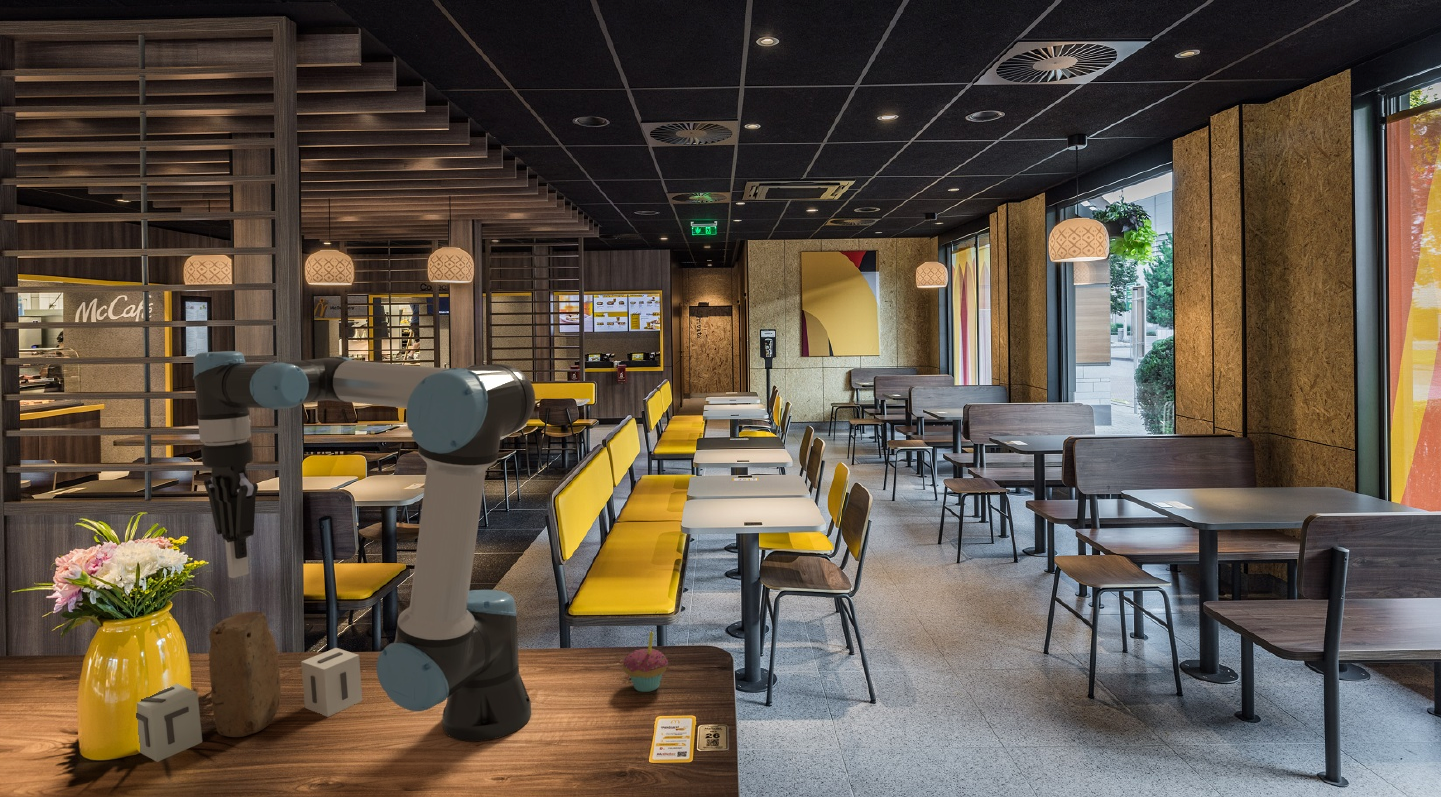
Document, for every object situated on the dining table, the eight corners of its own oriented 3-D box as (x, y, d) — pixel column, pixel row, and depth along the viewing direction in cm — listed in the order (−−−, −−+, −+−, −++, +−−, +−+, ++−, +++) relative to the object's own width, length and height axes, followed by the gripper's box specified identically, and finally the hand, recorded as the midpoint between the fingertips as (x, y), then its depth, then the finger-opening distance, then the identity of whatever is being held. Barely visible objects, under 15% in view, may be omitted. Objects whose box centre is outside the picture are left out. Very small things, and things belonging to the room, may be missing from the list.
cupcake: (677, 682, 158) (675, 622, 157) (650, 701, 151) (648, 638, 150) (641, 673, 163) (639, 614, 161) (614, 690, 156) (611, 629, 154)
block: (251, 741, 140) (241, 628, 138) (210, 740, 141) (199, 628, 138) (289, 710, 151) (280, 605, 149) (251, 709, 151) (241, 605, 149)
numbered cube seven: (203, 742, 140) (198, 691, 139) (156, 763, 134) (150, 709, 133) (181, 732, 144) (176, 681, 143) (135, 751, 138) (129, 699, 137)
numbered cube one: (363, 701, 154) (359, 653, 153) (327, 718, 148) (323, 668, 147) (339, 692, 158) (336, 646, 156) (303, 708, 151) (299, 660, 150)
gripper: (269, 440, 140) (281, 574, 143) (228, 436, 147) (240, 564, 149) (224, 447, 134) (237, 587, 136) (183, 442, 140) (196, 576, 143)
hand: (238, 575), depth 143 cm, fingers closed
